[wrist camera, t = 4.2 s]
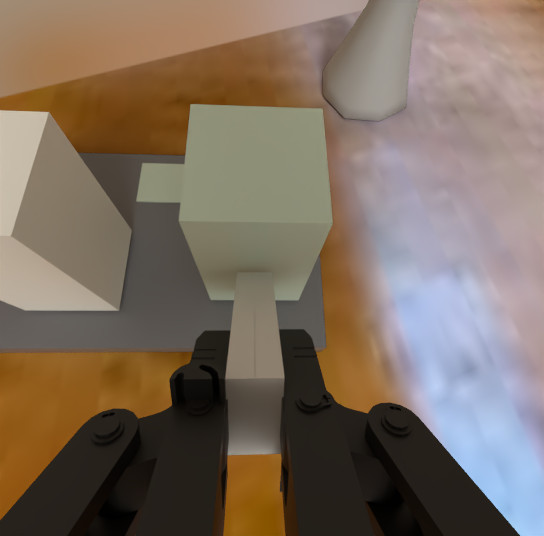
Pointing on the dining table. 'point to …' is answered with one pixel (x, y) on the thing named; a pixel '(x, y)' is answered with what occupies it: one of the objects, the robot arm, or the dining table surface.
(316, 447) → the robot arm
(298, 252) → the pale green tall block
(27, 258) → the cream tall block
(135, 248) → the grey board
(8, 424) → the dining table surface
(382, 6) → the flask
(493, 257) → the dining table surface
